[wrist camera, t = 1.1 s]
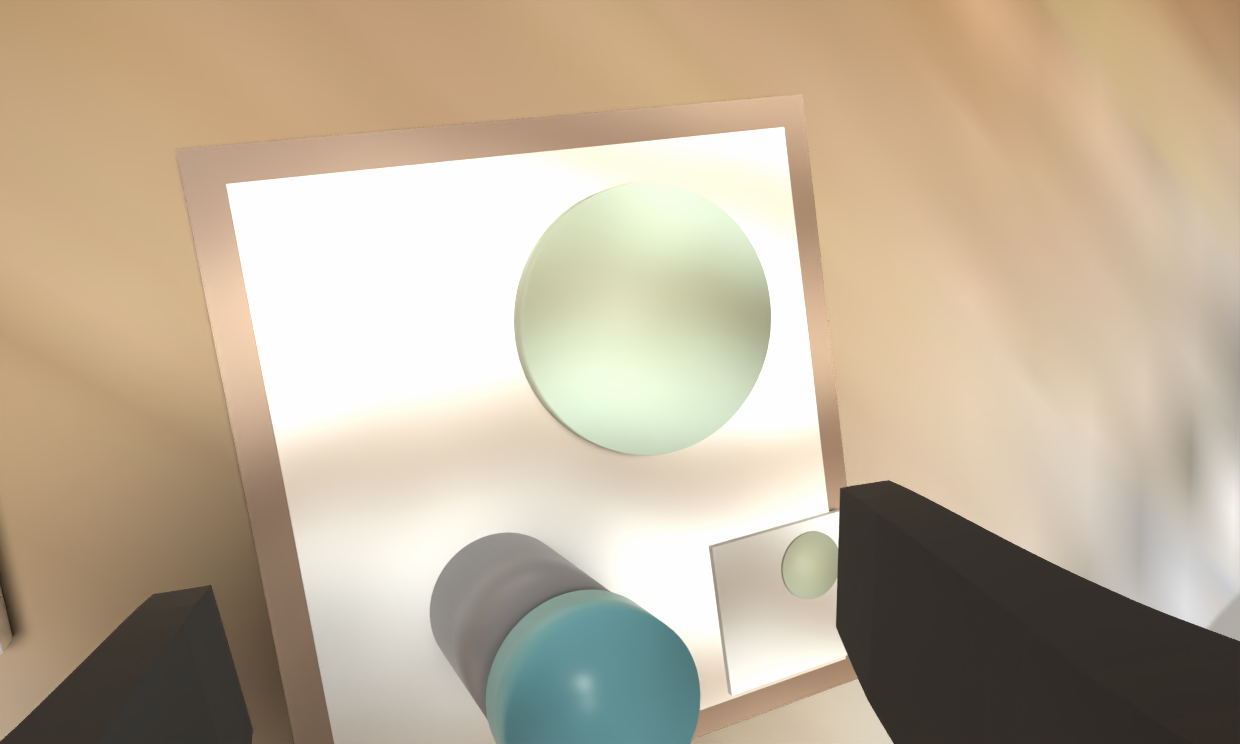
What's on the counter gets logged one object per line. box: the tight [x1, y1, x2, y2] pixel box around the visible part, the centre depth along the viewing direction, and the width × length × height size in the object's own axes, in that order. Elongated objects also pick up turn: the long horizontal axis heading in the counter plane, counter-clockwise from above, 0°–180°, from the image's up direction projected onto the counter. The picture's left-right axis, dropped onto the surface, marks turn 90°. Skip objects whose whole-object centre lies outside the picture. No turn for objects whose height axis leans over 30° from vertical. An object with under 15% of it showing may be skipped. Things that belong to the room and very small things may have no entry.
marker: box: [430, 532, 701, 744], centre depth 20 cm, size 4×4×6 cm
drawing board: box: [176, 94, 858, 744], centre depth 23 cm, size 16×15×2 cm
